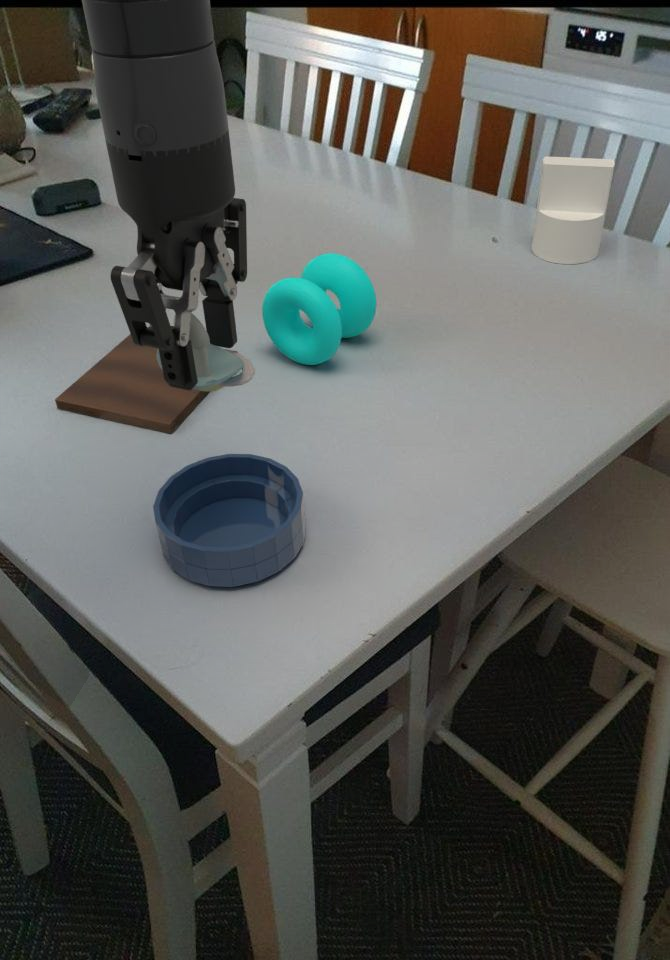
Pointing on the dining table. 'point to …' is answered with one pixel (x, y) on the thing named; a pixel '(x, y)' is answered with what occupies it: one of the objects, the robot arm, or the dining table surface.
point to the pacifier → (215, 361)
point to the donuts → (319, 308)
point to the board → (130, 391)
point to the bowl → (230, 519)
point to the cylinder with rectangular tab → (571, 208)
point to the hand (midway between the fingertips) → (203, 364)
